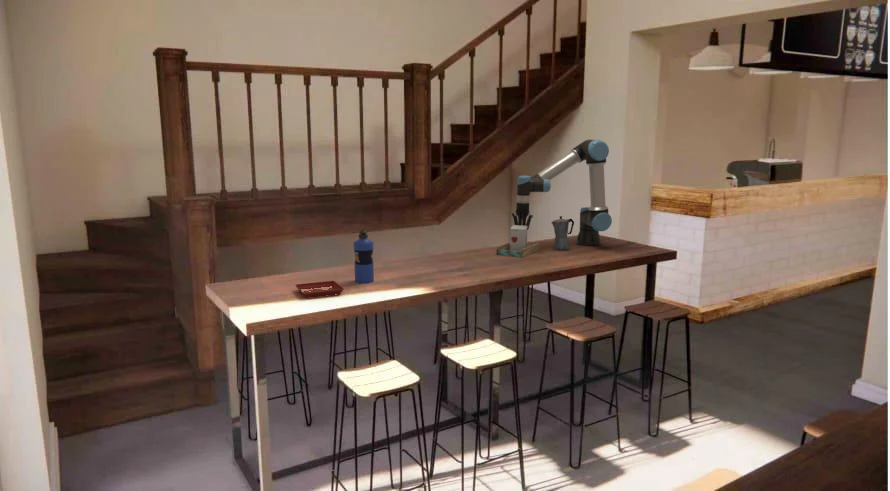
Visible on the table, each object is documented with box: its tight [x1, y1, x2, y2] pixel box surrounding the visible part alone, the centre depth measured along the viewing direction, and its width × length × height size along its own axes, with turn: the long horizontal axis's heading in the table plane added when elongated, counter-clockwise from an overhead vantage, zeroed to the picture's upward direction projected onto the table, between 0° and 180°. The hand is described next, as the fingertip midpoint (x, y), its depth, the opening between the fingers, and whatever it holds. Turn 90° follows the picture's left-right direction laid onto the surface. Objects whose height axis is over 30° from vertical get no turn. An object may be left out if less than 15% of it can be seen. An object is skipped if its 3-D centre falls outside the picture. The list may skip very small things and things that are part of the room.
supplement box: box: [509, 224, 528, 252], centre depth 371 cm, size 9×9×15 cm
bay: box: [496, 241, 541, 258], centre depth 372 cm, size 16×24×4 cm
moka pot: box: [551, 215, 575, 251], centre depth 380 cm, size 10×15×20 cm, turn 115°
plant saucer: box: [295, 280, 345, 299], centre depth 284 cm, size 18×18×3 cm
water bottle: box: [353, 229, 375, 284], centre depth 302 cm, size 9×9×25 cm
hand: (521, 241), depth 377 cm, fingers closed
